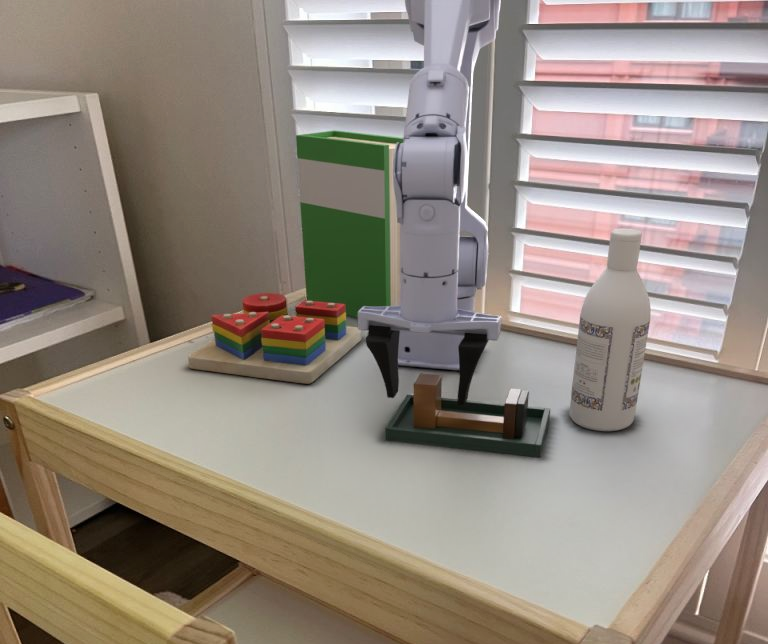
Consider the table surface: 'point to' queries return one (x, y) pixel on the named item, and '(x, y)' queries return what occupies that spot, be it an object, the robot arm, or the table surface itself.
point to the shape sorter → (277, 340)
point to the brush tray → (470, 439)
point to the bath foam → (612, 340)
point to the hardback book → (349, 219)
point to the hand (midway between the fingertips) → (427, 397)
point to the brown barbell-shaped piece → (432, 416)
